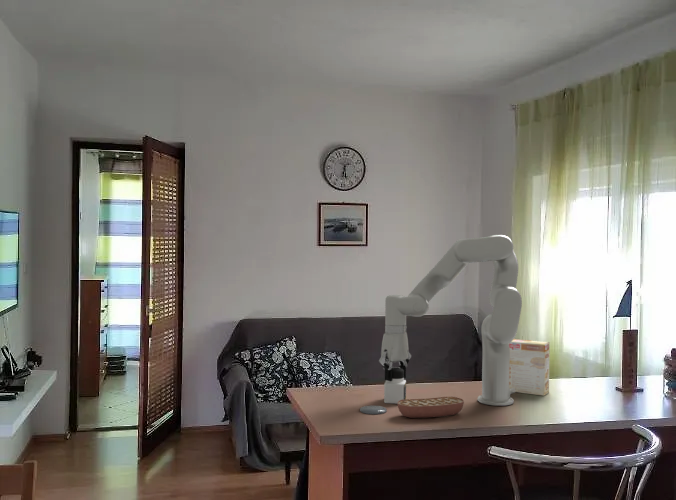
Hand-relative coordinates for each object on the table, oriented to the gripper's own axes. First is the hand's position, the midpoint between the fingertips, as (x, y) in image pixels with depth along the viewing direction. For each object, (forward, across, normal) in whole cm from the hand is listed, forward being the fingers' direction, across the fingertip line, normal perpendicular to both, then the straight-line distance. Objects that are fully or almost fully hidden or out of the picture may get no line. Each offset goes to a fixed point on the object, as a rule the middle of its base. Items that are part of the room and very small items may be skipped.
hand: (395, 378), depth 235 cm
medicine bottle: (+8, 0, 0) cm, 8 cm away
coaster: (+8, +15, +4) cm, 18 cm away
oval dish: (+9, +5, +21) cm, 23 cm away
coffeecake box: (+8, -49, +23) cm, 55 cm away
